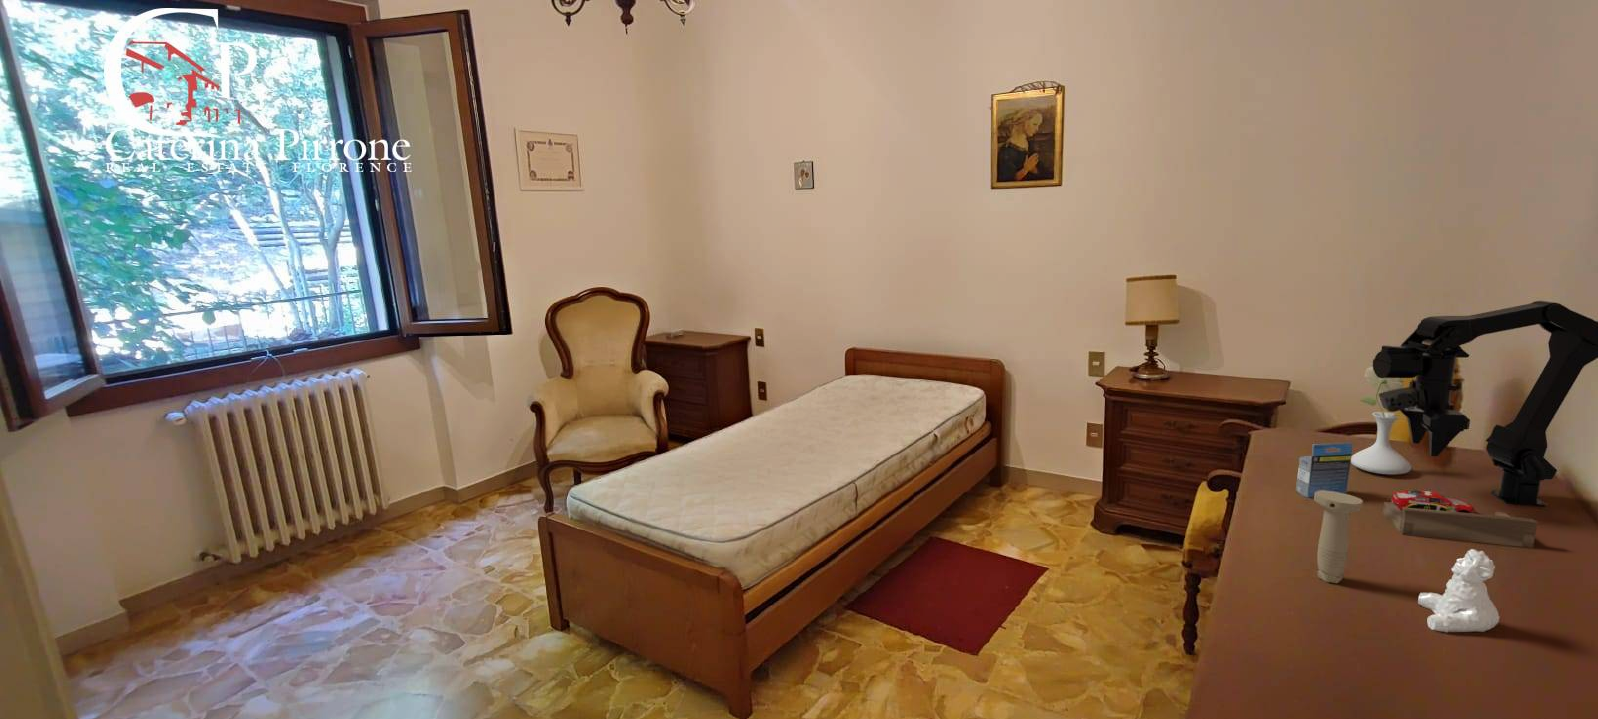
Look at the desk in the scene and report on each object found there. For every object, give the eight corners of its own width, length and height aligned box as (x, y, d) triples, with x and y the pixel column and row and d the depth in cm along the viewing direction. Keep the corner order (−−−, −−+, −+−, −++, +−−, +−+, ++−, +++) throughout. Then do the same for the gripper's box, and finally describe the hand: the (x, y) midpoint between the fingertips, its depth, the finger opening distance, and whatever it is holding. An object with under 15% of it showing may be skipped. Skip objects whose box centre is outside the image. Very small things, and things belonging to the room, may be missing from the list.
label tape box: (1333, 489, 158) (1339, 437, 156) (1347, 496, 154) (1353, 442, 152) (1294, 491, 158) (1299, 439, 155) (1308, 498, 154) (1313, 444, 151)
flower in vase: (1424, 478, 162) (1437, 372, 157) (1373, 479, 162) (1386, 374, 158) (1378, 459, 175) (1390, 361, 170) (1332, 461, 175) (1342, 363, 170)
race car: (1468, 511, 145) (1471, 493, 144) (1479, 521, 140) (1482, 502, 139) (1387, 502, 151) (1389, 484, 150) (1395, 512, 146) (1397, 493, 145)
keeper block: (1382, 513, 145) (1385, 490, 144) (1503, 524, 138) (1506, 500, 137) (1402, 534, 135) (1405, 510, 135) (1533, 547, 128) (1537, 522, 127)
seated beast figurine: (1414, 600, 113) (1423, 531, 111) (1486, 613, 109) (1497, 541, 107) (1428, 630, 105) (1439, 556, 103) (1507, 645, 101) (1520, 568, 99)
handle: (1346, 591, 117) (1356, 506, 114) (1302, 577, 122) (1310, 495, 119) (1357, 582, 119) (1366, 498, 117) (1312, 568, 125) (1321, 488, 122)
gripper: (1370, 367, 158) (1362, 434, 161) (1404, 386, 141) (1395, 460, 144) (1432, 369, 154) (1423, 437, 157) (1476, 388, 137) (1465, 465, 140)
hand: (1424, 449), depth 149 cm, fingers open, 8 cm apart
